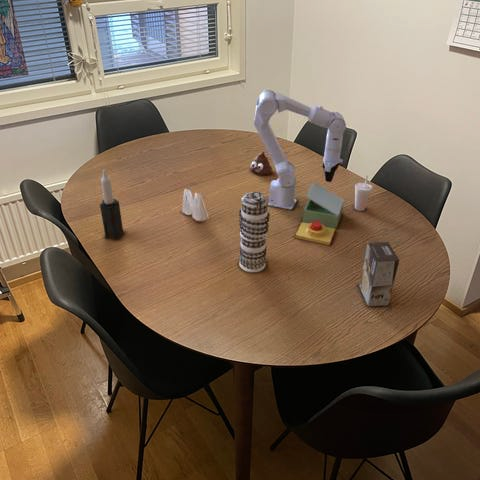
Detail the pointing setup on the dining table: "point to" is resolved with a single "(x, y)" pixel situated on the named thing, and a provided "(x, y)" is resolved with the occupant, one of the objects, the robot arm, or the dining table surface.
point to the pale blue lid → (325, 198)
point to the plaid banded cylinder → (253, 231)
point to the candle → (110, 211)
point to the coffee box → (378, 273)
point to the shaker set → (194, 206)
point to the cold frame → (320, 215)
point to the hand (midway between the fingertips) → (328, 181)
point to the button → (316, 226)
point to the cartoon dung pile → (261, 165)
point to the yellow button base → (315, 234)
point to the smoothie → (362, 195)
